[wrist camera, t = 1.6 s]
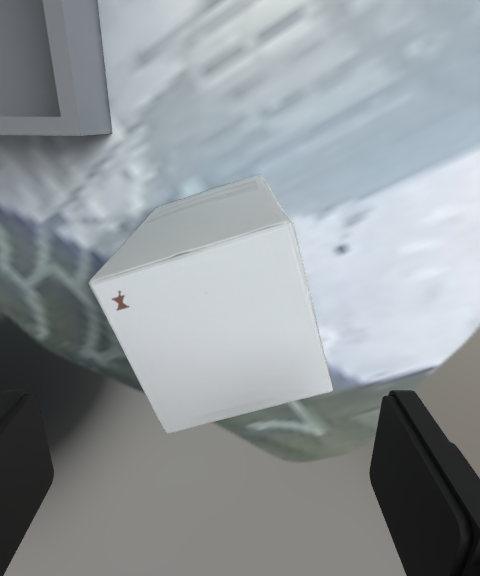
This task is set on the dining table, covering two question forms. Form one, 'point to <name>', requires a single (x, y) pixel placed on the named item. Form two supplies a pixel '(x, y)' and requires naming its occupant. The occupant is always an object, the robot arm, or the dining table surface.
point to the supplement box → (215, 307)
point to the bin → (52, 69)
